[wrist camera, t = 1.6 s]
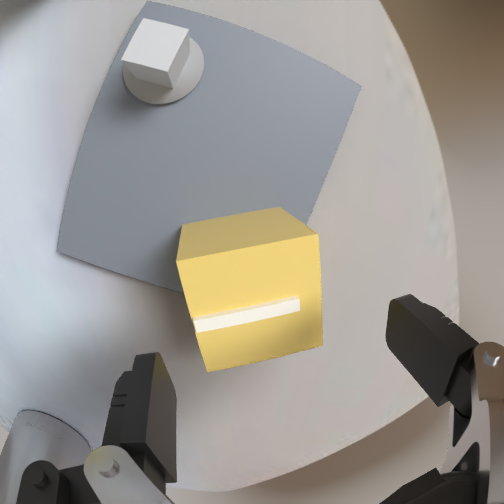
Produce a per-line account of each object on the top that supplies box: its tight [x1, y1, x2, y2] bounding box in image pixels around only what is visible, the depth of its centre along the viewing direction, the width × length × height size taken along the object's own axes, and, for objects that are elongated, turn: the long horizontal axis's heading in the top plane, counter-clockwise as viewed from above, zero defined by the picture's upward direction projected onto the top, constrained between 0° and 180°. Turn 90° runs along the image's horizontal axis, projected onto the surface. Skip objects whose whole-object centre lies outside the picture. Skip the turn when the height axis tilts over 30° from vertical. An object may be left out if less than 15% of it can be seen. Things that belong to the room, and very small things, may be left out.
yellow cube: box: [176, 207, 323, 372], centre depth 15 cm, size 6×6×6 cm
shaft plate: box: [57, 1, 361, 293], centre depth 14 cm, size 16×14×5 cm
